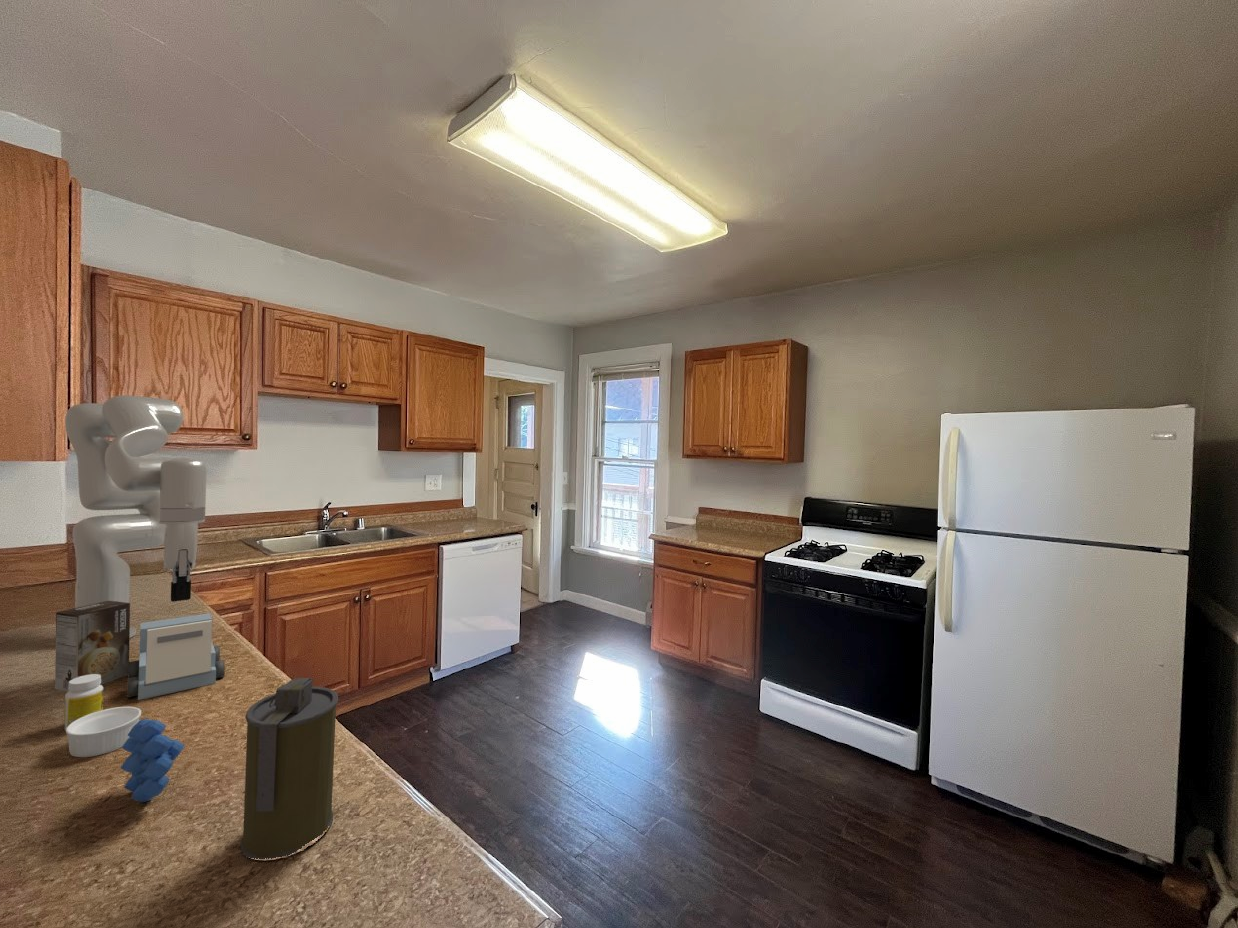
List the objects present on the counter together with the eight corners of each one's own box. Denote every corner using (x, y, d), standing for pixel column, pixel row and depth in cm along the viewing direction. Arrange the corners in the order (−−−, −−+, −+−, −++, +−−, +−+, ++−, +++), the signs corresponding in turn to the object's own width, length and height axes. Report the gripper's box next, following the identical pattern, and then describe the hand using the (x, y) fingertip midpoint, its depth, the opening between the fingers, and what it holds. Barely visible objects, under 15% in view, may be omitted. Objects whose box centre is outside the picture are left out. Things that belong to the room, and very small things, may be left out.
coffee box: (107, 671, 110) (109, 599, 110) (129, 675, 108) (132, 602, 108) (52, 690, 101) (55, 611, 101) (76, 694, 99) (79, 615, 99)
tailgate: (144, 685, 99) (146, 629, 100) (211, 671, 106) (212, 619, 107) (144, 687, 98) (146, 631, 99) (211, 673, 105) (213, 620, 106)
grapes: (199, 799, 72) (202, 717, 72) (137, 827, 66) (140, 739, 66) (168, 770, 78) (171, 694, 78) (108, 794, 72) (111, 712, 72)
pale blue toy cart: (128, 674, 109) (130, 624, 109) (217, 657, 119) (219, 611, 119) (126, 702, 97) (128, 647, 97) (225, 681, 108) (226, 630, 108)
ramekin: (150, 739, 86) (151, 714, 86) (79, 766, 78) (80, 739, 78) (126, 725, 90) (126, 701, 90) (55, 750, 82) (55, 724, 82)
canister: (272, 804, 72) (277, 667, 72) (346, 803, 73) (352, 668, 72) (217, 866, 61) (224, 705, 61) (306, 864, 62) (312, 705, 62)
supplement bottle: (108, 721, 91) (110, 675, 91) (73, 734, 86) (74, 686, 86) (93, 715, 92) (94, 671, 92) (57, 728, 88) (59, 681, 88)
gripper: (158, 513, 111) (156, 595, 111) (160, 520, 100) (157, 611, 100) (202, 511, 116) (200, 590, 116) (208, 518, 105) (206, 604, 105)
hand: (180, 599), depth 108 cm, fingers closed
